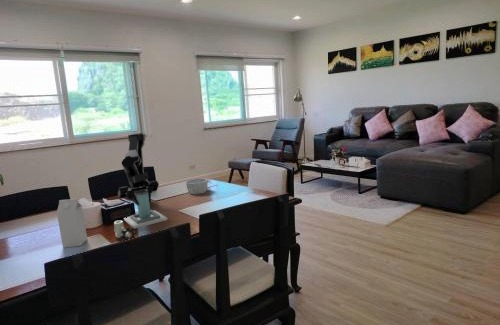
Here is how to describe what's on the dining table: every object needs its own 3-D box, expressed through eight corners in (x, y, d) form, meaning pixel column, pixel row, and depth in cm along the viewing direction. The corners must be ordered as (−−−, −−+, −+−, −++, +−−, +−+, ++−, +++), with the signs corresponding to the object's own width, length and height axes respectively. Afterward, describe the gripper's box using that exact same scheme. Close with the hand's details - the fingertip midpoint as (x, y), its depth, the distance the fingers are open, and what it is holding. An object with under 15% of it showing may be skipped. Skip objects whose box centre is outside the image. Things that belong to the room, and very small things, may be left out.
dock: (123, 220, 170) (123, 215, 170) (155, 212, 179) (154, 208, 179) (134, 228, 158) (133, 224, 157) (167, 219, 167) (167, 215, 166)
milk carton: (70, 241, 148) (62, 197, 145) (87, 239, 149) (80, 196, 145) (62, 248, 141) (54, 203, 138) (80, 246, 142) (73, 201, 138)
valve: (110, 237, 149) (121, 245, 140) (108, 223, 148) (119, 229, 139) (126, 233, 153) (137, 240, 144) (124, 218, 152) (135, 225, 143)
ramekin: (182, 194, 210) (181, 183, 209) (193, 188, 222) (192, 178, 221) (201, 195, 205) (200, 184, 204) (212, 189, 217) (211, 178, 216)
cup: (137, 216, 169) (134, 192, 167) (148, 213, 172) (145, 189, 170) (141, 219, 164) (138, 194, 162) (152, 216, 168) (149, 192, 165)
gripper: (116, 171, 162) (126, 199, 155) (155, 164, 172) (166, 190, 165) (114, 184, 170) (123, 211, 163) (151, 177, 180) (161, 202, 173)
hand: (144, 203), depth 166 cm, fingers closed on cup, 5 cm apart
